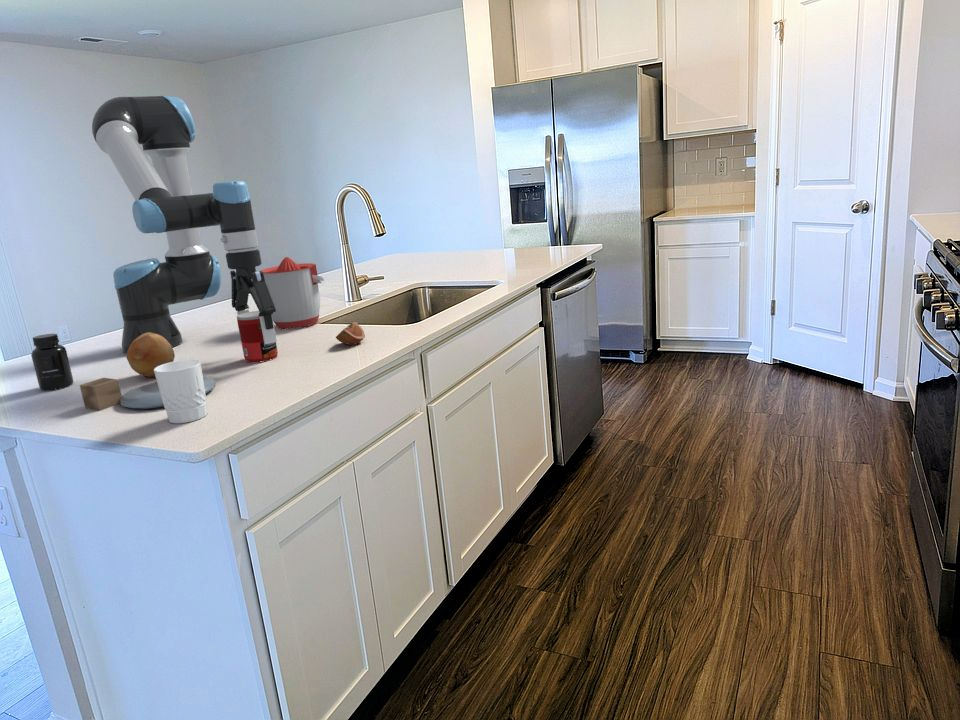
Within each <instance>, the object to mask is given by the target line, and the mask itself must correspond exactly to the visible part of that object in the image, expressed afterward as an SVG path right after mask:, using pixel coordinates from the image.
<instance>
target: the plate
mask: <svg viewBox="0 0 960 720" xmlns="http://www.w3.org/2000/svg"><path fill="white" fill-rule="evenodd" d="M203 380H204V387H205V395H206V394H207V393H210V392H211V391H212V390H213V389H214V388H215V387H216V381H215V380H214V379H213V378H211V377H207V376H203ZM120 402H121V403H120V405H121V406H122V407H125V408H129V409H157V408H164V404H163V401H162V398H161V395H160V391H159V387H158V384H157V381H156V382H152V383H148V384H145V385H142V386H139V387H136V388H134V389H131V390H129V391H128V392H126V393H124V394H123V395H122V397H121V398H120Z"/></svg>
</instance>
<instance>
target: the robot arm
mask: <svg viewBox="0 0 960 720" xmlns="http://www.w3.org/2000/svg"><path fill="white" fill-rule="evenodd" d="M91 131H92V132H91V134H92V136H93V138H94V139H93V140H94V141H95V143H96V145H97V146H98V148H99V149H100V150H101V151H102V152H103V153H105V154H107V155H108V156H109V158H110V160H111V161H112V163H113V164H114V167H115V168H116V170H117V172H118V174H119V175H120V177H121V179H122V181H123V183H124V184H125V185H126V187H127V189H128V190H129V192H130V194H131V195H132V198H133V199H134V201H133V203H132V217H133V220H134V222H135V226H136V228H137V229H138V231H139V232H141V233H142V234H155V233H156V234H162V233H165V234H166V239H167V243H168V249H167V251H166V252H165V254H164V259H165V261H164V262H160V260H159V259H158V258H156V257H155V258H153V257H152V258H147V259H142V260H138V261H134V262H130V263H127V264H123V265H121V266H119V267H117V268H115V270H114V271H113V282H114V289H115V290H116V295H117V299H118V303H119V308H120V313H121V317H122V320H123V327H122V328H123V329H122V337H121V348H122V352H123V353H125V354H127V351H128V349H129V347H130V345H131V343H132V342H133V341H134V340H135V339H136V338H137V337H139V336H141V335H142V334H145V333H148V332H151V333H155V334H158V335H160V336H162V337H164V338H165V339H166V340H167V341H168V342H169V343H170V345H171V346H174V347H176V346H178V344H179V345H180V343H181V342H182V341H183V337H182V333H181V332H180V330H179V328H178V327H177V324H176V323H175V322H174V320H173V318H172V316H171V313H170V308H169V306H171V305H176V304H181V303H187V302H192V301H197V300H201V301H203V300H205V299H207V298H212V297H214V296H216V295H217V294H218V293H219V291H220V288H221V284H222V272H221V265H220V264H219V260H218V259H217V257H216V256H215V255H213V254H211V253H210V249H209V248H207V246H205V245H203V243H202V242H203V241H202V237H201V236H202V235H201V232H200V231H201V230H200V228H207V227H216V226H219V228H220V233H221V237H222V238H220V242H221V243H223V247H224V251H227V252H226V253H225V259H226V264H227V268H228V269H229V270H230V272H229V274H230V278H231V307H232V308H233V309H234V310H235V311H236V314H237V315H236V316H238V315H240V314H242V313H247V312H250V306H249V305H248V301H249V296H251V297H252V299H253V301H254V303H255V305H256V307H257V311H259V312H260V313H259V317H260V322H261V328H262V333H263V339H264V344H269V343H273V342H276V343H277V335H276V330H275V329H276V328H275V323H274V322H273V318H272V314H273V312H276V309H275V306H274V303H273V301H272V298H271V295H270V293H269V290H268V288H267V285H266V282H265V279H264V274H263V272H262V271H261V270H260V271H257V270H256V269H257V268H256V267H259V266H261V265H262V258H261V257H262V256H261V253H260V250H259V249H257V248H258V247H259V246H260V245H259V240H258V235H257V229H256V225H255V220H254V219H255V218H254V214H253V209H252V202H251V195H250V192H249V188H248V184H247V182H245V181H244V180H231V181H220V182H215V183H214V184H213V185H212V192H209V193H198V194H193V189H192V183H191V177H190V173H189V167H188V160H187V153H189V151H190V150H191V143H192V142H194V141H195V140H196V125H195V122H194V119H193V116H192V114H191V111H190V109H189V107H188V106H187V104H186V103H185V101H184V100H183V99H182V98H179V97H177V96H169V95H168V96H165V95H155V96H152V95H151V96H148V95H147V96H117V97H113V98H111V99H108V100H106V101H105V102H104V103H102V104H101V105H100V106H99V107H98V109H97V110H96V111H95V113H94V116H93V118H92V124H91ZM148 156H149V158H148ZM150 159H151V161H150ZM182 343H183V342H182ZM182 343H181V344H182Z"/></svg>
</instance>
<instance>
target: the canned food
mask: <svg viewBox="0 0 960 720" xmlns="http://www.w3.org/2000/svg"><path fill="white" fill-rule="evenodd" d="M259 313H260V312H259V310H253V311H249V312H247V313H242V314H240V315H236V321H237V327H238V332H239V338H240V342H241V347H242V352H243V353H242V354H243V358H244V360H245V362H247V363H251V362H257V363H261V362H260V361H264V362H267V361H266V360H269V361H271V360H270V359H272V360H274V359H273V358H275V357H276V358H277V357H278V347H277V342H273V343H269V344H264V339H263V333H262V328H261V322H260V317H259ZM276 358H275V359H276Z"/></svg>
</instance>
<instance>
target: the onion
mask: <svg viewBox="0 0 960 720" xmlns="http://www.w3.org/2000/svg"><path fill="white" fill-rule="evenodd" d="M126 360H127V362H128V365H129V366H130V368H131V369H132V370H133V371H134V372H135V373H137V374H138V375H140V376H145V377H149V378H156V377H155V373H154V369H155V368H156V367H158V366H160V365H163V364H166V363H169V362H174V361H175V351H174V348H173V347H172V346H171V345H170V343H169V342H168V341H167V340H166V339H165V338H164V337H162V336H160V335H158V334H155V333H151V332H148V333H145V334H142V335H141V336H139V337H137V338H136V339H135V340H134V341H133V342H132V343H131V345H130V347H129V349H128V351H127V353H126Z"/></svg>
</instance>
